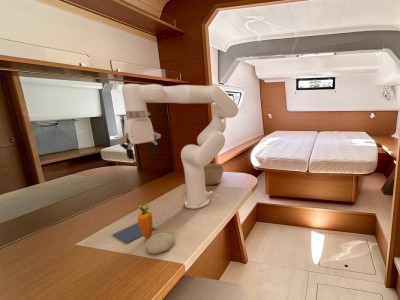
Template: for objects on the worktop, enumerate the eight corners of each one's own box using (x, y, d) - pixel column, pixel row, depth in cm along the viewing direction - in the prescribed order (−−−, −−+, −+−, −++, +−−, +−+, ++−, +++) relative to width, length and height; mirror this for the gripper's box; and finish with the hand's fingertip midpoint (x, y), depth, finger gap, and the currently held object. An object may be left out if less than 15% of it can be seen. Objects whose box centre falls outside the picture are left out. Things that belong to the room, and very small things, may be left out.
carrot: (152, 234, 88) (147, 200, 85) (157, 238, 85) (152, 203, 82) (138, 240, 85) (133, 204, 82) (144, 245, 82) (138, 208, 78)
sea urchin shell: (158, 232, 86) (167, 222, 83) (171, 248, 85) (180, 238, 82) (137, 246, 78) (146, 236, 74) (151, 264, 77) (161, 254, 74)
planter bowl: (208, 177, 155) (207, 162, 152) (228, 179, 150) (227, 164, 147) (194, 185, 140) (192, 169, 137) (216, 188, 135) (215, 171, 132)
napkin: (140, 222, 98) (140, 221, 97) (155, 229, 92) (155, 228, 92) (113, 234, 88) (113, 234, 88) (127, 243, 83) (127, 242, 83)
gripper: (152, 114, 98) (157, 151, 101) (108, 116, 83) (116, 159, 87) (162, 114, 94) (167, 153, 97) (118, 117, 79) (126, 162, 83)
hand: (143, 156), depth 92 cm, fingers open, 9 cm apart
